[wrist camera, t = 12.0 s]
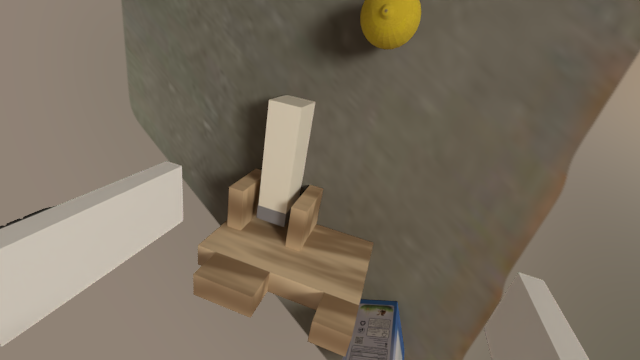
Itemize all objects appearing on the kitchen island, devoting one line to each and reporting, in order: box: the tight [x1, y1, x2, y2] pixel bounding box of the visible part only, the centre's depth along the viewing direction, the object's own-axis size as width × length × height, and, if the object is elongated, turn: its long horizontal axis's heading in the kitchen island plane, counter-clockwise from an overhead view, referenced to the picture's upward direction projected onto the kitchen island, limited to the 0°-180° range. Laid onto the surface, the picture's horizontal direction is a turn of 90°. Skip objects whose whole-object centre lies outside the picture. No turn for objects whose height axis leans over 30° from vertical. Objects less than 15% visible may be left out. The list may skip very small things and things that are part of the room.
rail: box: [257, 95, 315, 227], centre depth 38 cm, size 16×4×5 cm, turn 170°
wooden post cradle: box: [193, 169, 373, 357], centre depth 36 cm, size 9×20×16 cm, turn 80°
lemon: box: [360, 0, 421, 49], centre depth 28 cm, size 6×6×8 cm
